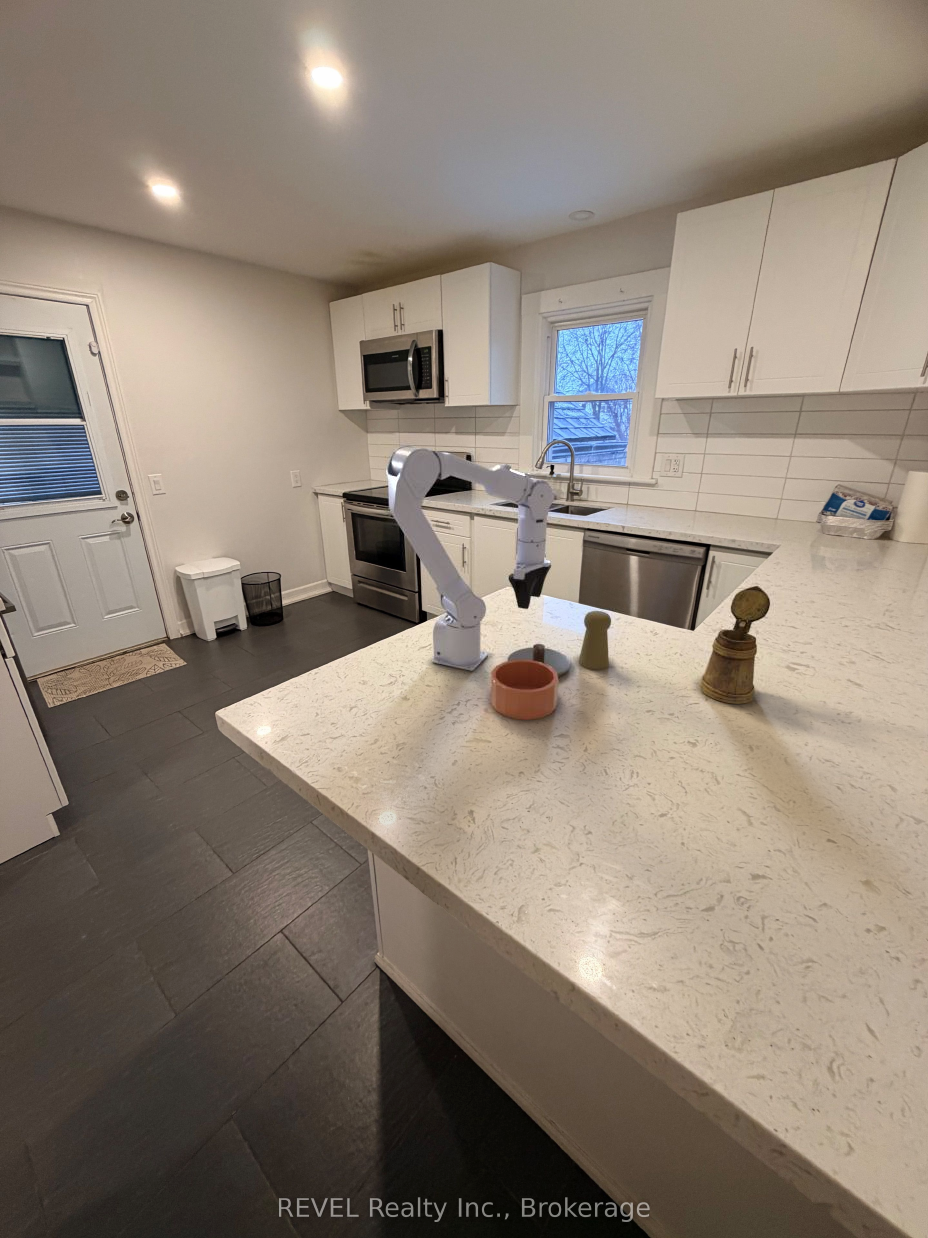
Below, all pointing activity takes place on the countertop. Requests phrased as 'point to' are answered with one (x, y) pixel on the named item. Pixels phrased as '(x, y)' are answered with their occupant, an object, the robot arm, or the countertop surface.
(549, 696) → the terracotta bowl
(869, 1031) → the countertop surface
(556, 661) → the lid
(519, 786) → the countertop surface
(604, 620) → the olive green pepper mill
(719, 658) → the wooden mug
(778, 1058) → the countertop surface
